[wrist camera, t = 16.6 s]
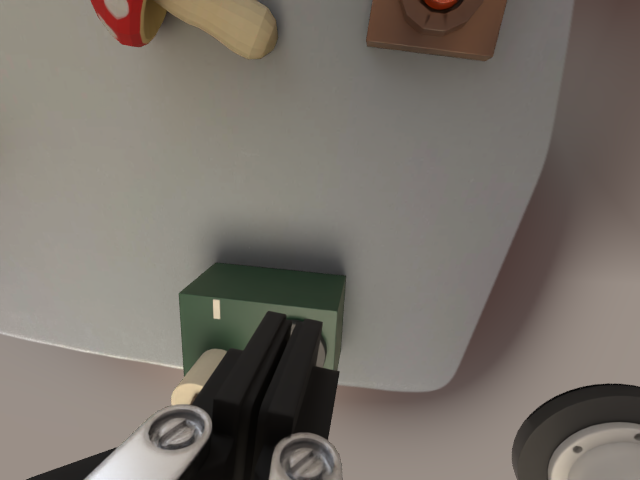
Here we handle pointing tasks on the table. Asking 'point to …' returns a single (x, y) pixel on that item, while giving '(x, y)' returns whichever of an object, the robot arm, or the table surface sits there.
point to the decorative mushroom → (193, 22)
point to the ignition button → (440, 4)
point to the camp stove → (258, 308)
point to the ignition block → (437, 27)
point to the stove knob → (197, 377)
